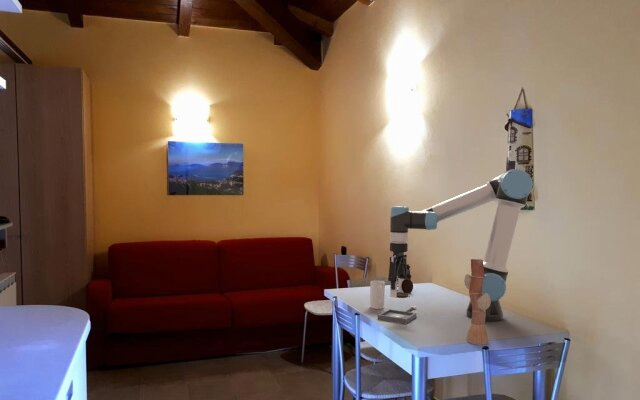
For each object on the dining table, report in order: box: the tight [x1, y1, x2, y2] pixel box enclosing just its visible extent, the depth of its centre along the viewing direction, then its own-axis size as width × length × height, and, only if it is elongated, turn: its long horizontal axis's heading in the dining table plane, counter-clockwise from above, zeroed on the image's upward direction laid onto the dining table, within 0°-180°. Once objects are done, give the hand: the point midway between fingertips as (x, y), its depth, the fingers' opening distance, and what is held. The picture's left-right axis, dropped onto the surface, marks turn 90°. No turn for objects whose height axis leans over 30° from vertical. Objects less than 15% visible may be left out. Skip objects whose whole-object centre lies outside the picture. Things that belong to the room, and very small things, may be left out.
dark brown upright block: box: [396, 264, 412, 288], centre depth 264 cm, size 4×13×15 cm, turn 14°
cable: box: [405, 305, 417, 312], centre depth 218 cm, size 2×14×1 cm, turn 149°
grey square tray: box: [377, 308, 418, 325], centre depth 206 cm, size 13×13×2 cm
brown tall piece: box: [463, 258, 491, 346], centre depth 176 cm, size 10×7×30 cm
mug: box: [369, 280, 386, 310], centre depth 224 cm, size 10×7×12 cm, turn 16°
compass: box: [397, 279, 414, 299], centre depth 204 cm, size 8×8×7 cm
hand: (397, 295), depth 206 cm, fingers closed on compass, 8 cm apart
